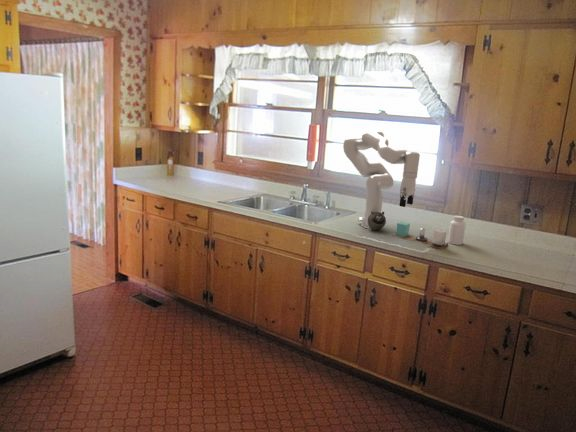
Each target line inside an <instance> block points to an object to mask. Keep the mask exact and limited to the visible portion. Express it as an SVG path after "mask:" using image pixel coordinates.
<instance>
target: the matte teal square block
mask: <svg viewBox="0 0 576 432" xmlns="http://www.w3.org/2000/svg"><path fill="white" fill-rule="evenodd" d="M410 224H411V223H408V222H404V221H400V222H399V221H398V222H397V223H396V231H395V232H396V235H400V236H404V237H405V236H407V235H408V234H409V232H410V226H411V225H410ZM409 235H410V234H409Z"/></svg>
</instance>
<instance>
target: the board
mask: <svg viewBox="0 0 576 432" xmlns="http://www.w3.org/2000/svg"><path fill="white" fill-rule="evenodd" d="M389 236H390V237H394V238H395V237H396V238H399V239H402V240H408V241H412V242H416V243H420V244H424V245H428V246H429V247H430V248H432V249H437V250H443V249H445V248H446V247H448V246H449V242H448V243H446V242H445V243H444V246H443V247H437V246H434V245H432V238H431V239H430V238H427V241H426V242H421V241H417V240H416V237H417V235H413V234H408V235H407V236H405V237H404V236H400V235H396V231H395V232H392V233H390V234H389Z"/></svg>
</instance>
